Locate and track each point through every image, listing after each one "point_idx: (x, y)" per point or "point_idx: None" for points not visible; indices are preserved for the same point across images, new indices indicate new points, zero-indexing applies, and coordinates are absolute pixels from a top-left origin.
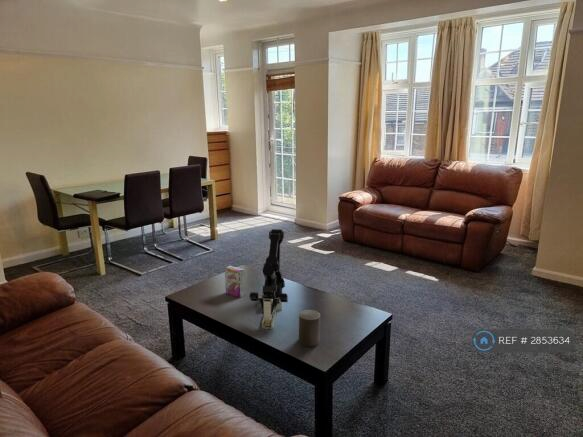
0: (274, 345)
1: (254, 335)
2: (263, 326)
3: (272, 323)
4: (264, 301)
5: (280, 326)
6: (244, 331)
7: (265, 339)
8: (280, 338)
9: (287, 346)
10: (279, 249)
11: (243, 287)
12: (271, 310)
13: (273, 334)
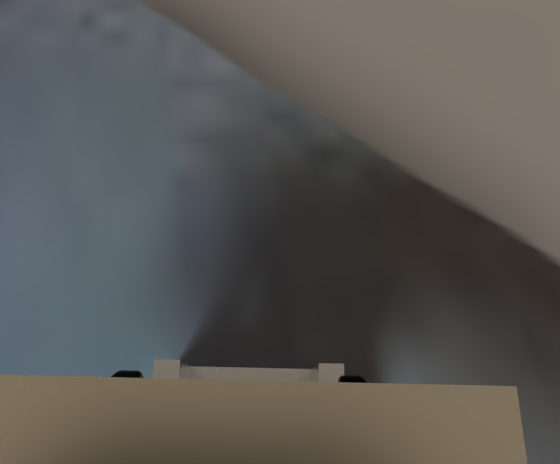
0: (140, 15)
1: (393, 187)
2: (312, 369)
3: (155, 359)
4: (432, 384)
5: None
6: (548, 272)
7: (247, 113)
8: (69, 138)
9: (2, 4)
10: None
11: None
12: None
13: (156, 220)
